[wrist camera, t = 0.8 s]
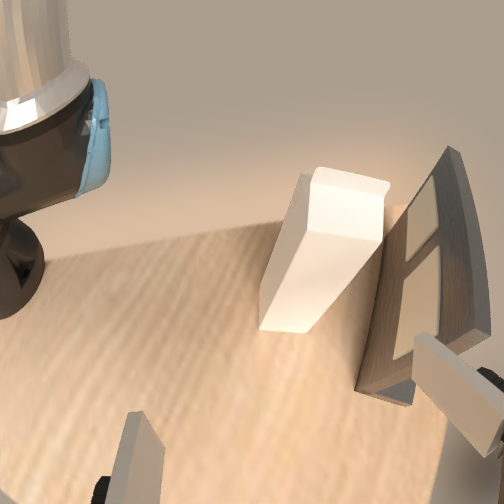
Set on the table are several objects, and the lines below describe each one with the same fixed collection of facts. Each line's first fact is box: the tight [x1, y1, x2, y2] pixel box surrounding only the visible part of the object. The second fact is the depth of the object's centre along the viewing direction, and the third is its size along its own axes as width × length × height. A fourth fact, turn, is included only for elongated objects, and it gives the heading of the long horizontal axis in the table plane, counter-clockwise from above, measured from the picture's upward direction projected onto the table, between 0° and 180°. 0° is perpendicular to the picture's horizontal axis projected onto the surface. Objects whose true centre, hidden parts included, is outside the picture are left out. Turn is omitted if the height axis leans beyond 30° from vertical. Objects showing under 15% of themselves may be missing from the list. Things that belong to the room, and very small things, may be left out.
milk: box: [258, 166, 391, 333], centre depth 29 cm, size 6×6×22 cm
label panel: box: [354, 146, 491, 407], centre depth 32 cm, size 8×26×20 cm, turn 158°
